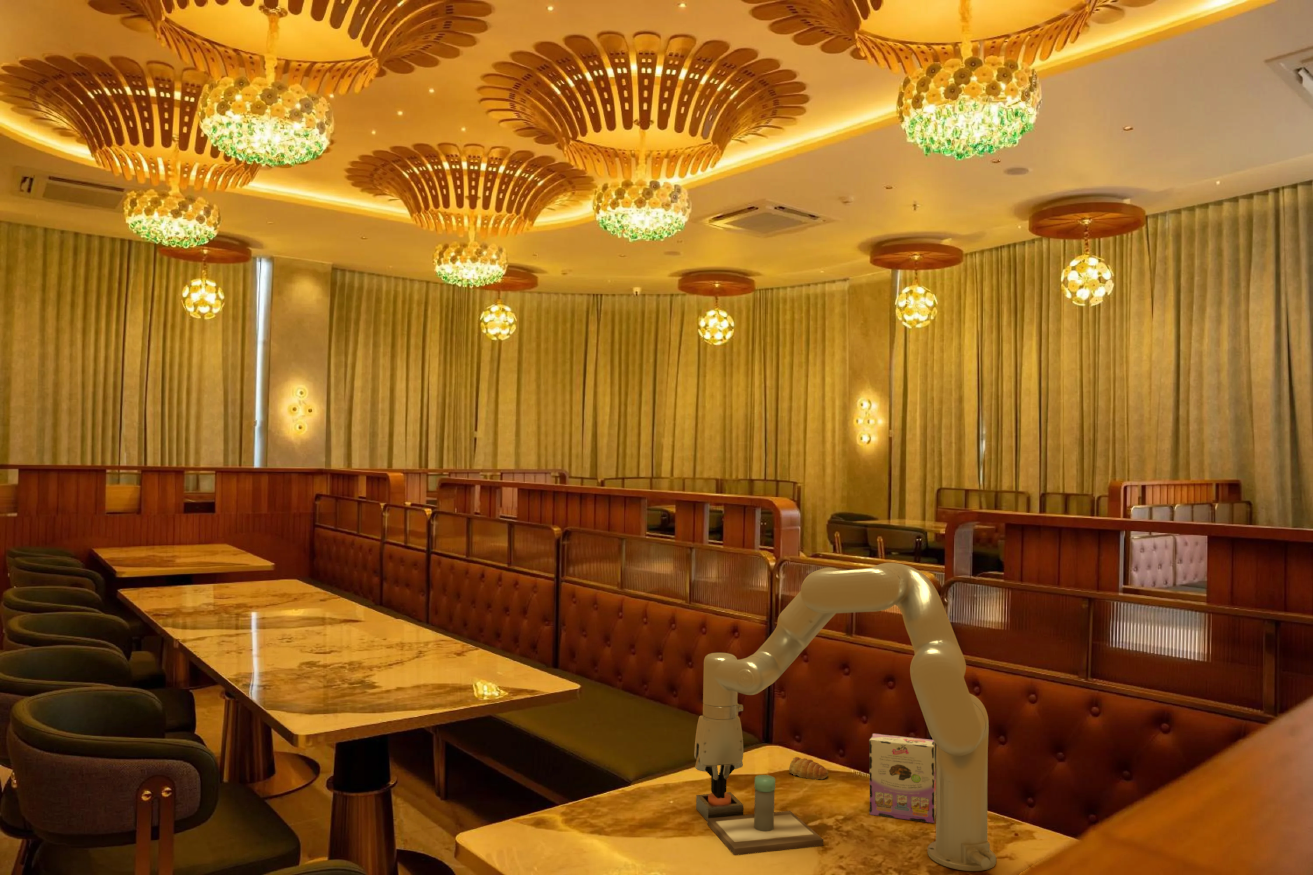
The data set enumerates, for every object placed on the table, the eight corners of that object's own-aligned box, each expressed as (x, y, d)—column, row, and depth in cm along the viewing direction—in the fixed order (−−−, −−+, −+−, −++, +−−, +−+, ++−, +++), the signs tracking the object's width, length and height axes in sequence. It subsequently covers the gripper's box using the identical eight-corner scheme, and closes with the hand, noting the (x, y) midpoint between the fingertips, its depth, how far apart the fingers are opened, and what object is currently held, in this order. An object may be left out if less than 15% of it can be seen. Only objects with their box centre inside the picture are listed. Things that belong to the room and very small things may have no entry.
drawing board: (823, 845, 179) (823, 838, 179) (734, 854, 174) (734, 847, 174) (790, 816, 195) (790, 809, 195) (707, 824, 190) (707, 817, 190)
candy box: (936, 814, 197) (936, 738, 198) (934, 824, 191) (934, 746, 192) (872, 805, 202) (872, 731, 203) (868, 814, 196) (868, 738, 197)
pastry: (832, 775, 223) (832, 760, 223) (821, 783, 217) (821, 767, 217) (798, 768, 228) (798, 753, 228) (786, 775, 222) (786, 760, 223)
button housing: (743, 818, 193) (743, 804, 193) (708, 822, 191) (708, 807, 191) (730, 805, 201) (730, 791, 201) (696, 808, 198) (696, 794, 199)
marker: (777, 830, 183) (778, 781, 183) (757, 832, 182) (758, 782, 182) (769, 822, 187) (771, 774, 187) (750, 823, 186) (751, 775, 186)
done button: (734, 810, 194) (734, 798, 194) (712, 812, 193) (712, 800, 193) (726, 802, 199) (726, 791, 199) (704, 803, 197) (705, 792, 198)
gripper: (745, 704, 202) (744, 787, 202) (682, 708, 198) (680, 792, 198) (758, 713, 195) (757, 799, 194) (692, 717, 191) (691, 804, 190)
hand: (718, 795), depth 196 cm, fingers closed
